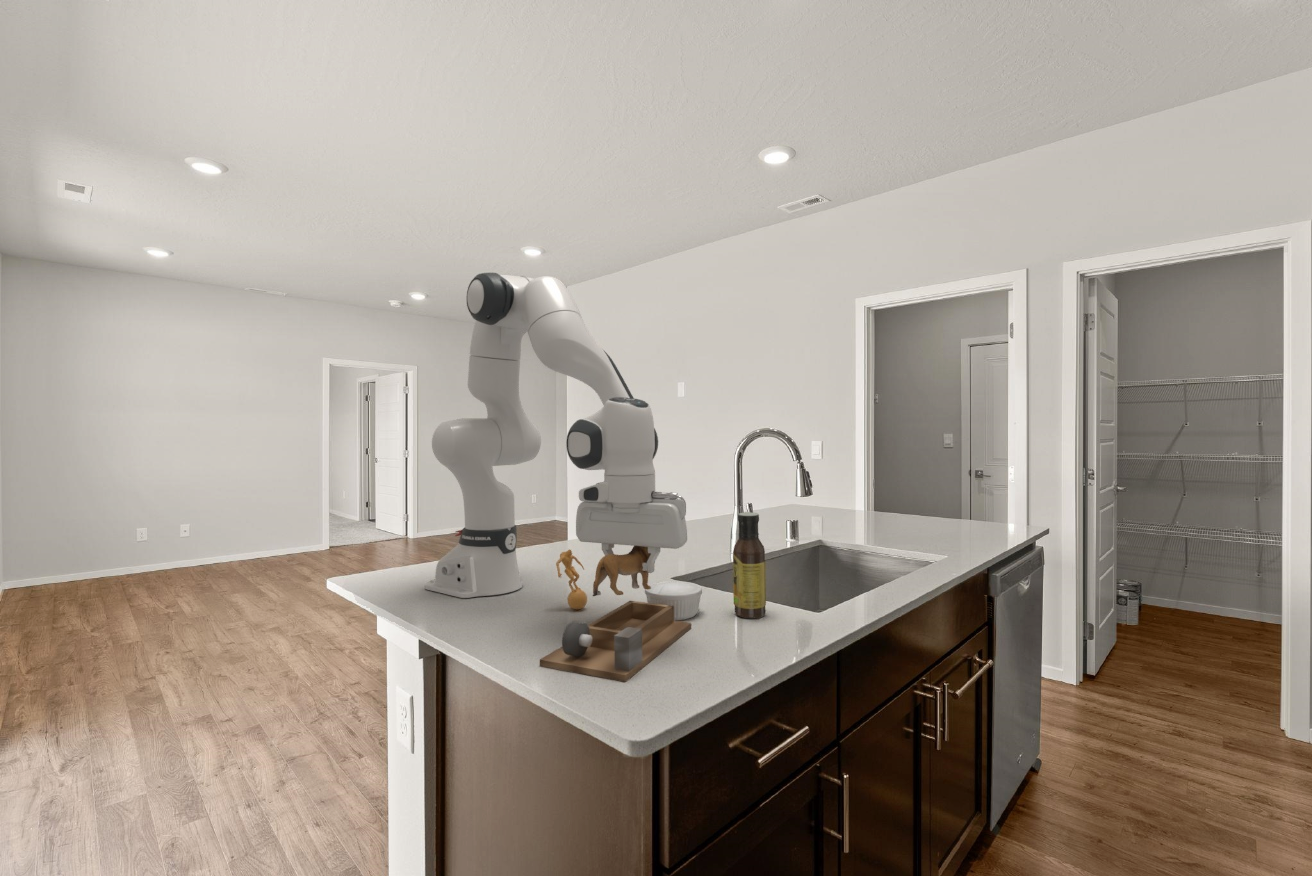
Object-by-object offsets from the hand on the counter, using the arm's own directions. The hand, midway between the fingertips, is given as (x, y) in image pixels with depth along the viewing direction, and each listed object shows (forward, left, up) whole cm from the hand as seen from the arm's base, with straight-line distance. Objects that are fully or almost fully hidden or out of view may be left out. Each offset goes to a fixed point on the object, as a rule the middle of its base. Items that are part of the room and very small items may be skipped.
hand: (630, 570), depth 108 cm
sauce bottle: (+15, +22, -12) cm, 29 cm away
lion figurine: (0, -1, -4) cm, 4 cm away
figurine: (-19, +12, -12) cm, 25 cm away
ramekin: (+1, +17, -12) cm, 21 cm away
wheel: (-2, -13, -11) cm, 17 cm away
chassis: (0, -3, -12) cm, 12 cm away
